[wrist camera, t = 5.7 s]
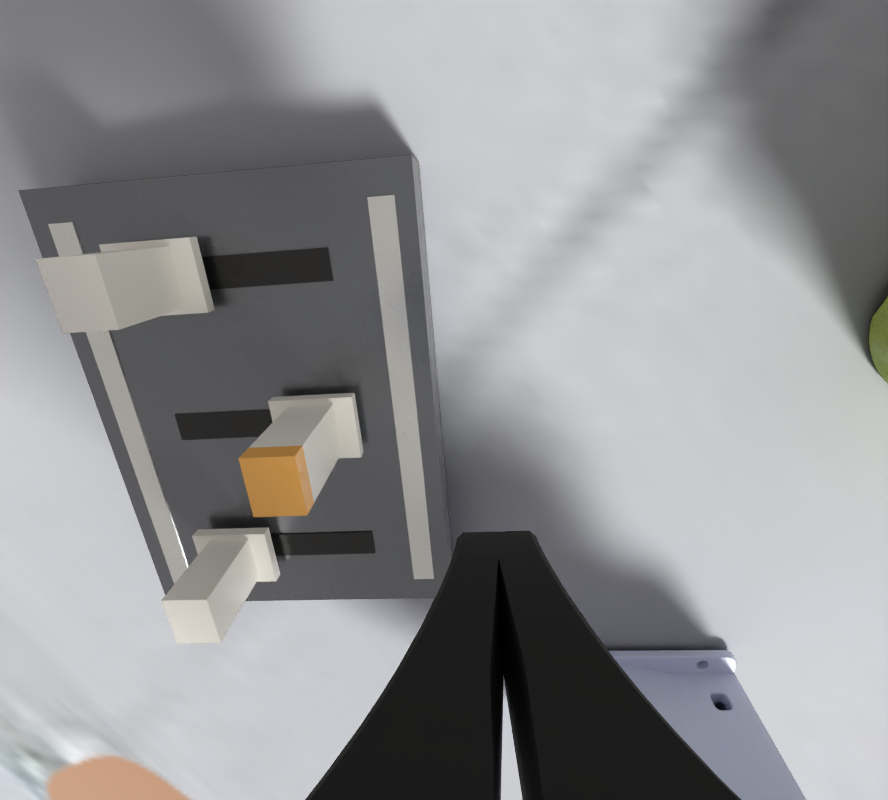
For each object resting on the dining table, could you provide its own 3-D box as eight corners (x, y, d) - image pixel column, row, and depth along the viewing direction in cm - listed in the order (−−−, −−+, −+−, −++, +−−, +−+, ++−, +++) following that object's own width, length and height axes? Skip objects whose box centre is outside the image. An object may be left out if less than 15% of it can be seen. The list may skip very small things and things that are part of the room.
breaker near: (196, 236, 14) (118, 243, 11) (215, 310, 15) (146, 336, 12) (108, 243, 14) (6, 252, 11) (130, 315, 15) (41, 342, 12)
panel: (418, 161, 15) (411, 154, 13) (452, 563, 21) (450, 598, 19) (70, 193, 16) (16, 190, 14) (193, 569, 22) (167, 603, 20)
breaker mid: (354, 392, 16) (318, 448, 12) (363, 452, 17) (332, 521, 13) (272, 397, 16) (212, 452, 12) (285, 455, 17) (232, 524, 13)
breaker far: (268, 527, 18) (225, 594, 15) (280, 573, 19) (241, 647, 16) (197, 529, 18) (140, 595, 15) (212, 575, 19) (160, 647, 16)
